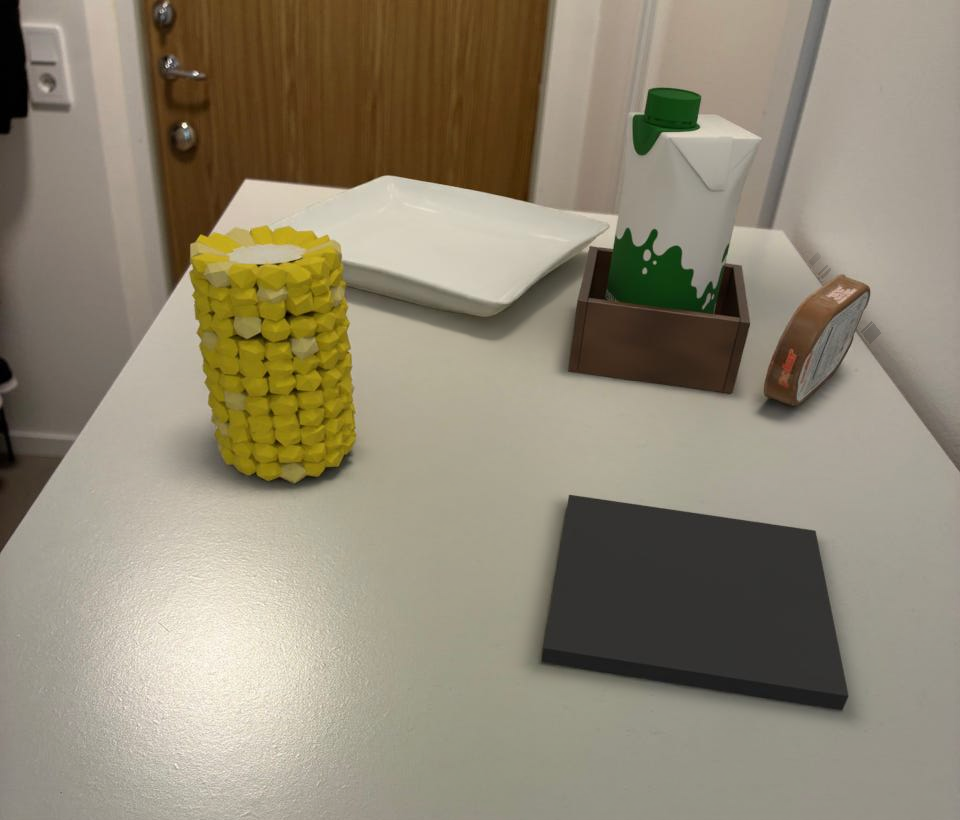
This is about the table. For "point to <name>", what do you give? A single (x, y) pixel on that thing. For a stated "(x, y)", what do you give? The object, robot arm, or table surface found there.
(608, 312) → the crate
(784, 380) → the tin
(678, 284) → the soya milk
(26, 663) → the table surface
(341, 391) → the food
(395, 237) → the square plate
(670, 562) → the mat
